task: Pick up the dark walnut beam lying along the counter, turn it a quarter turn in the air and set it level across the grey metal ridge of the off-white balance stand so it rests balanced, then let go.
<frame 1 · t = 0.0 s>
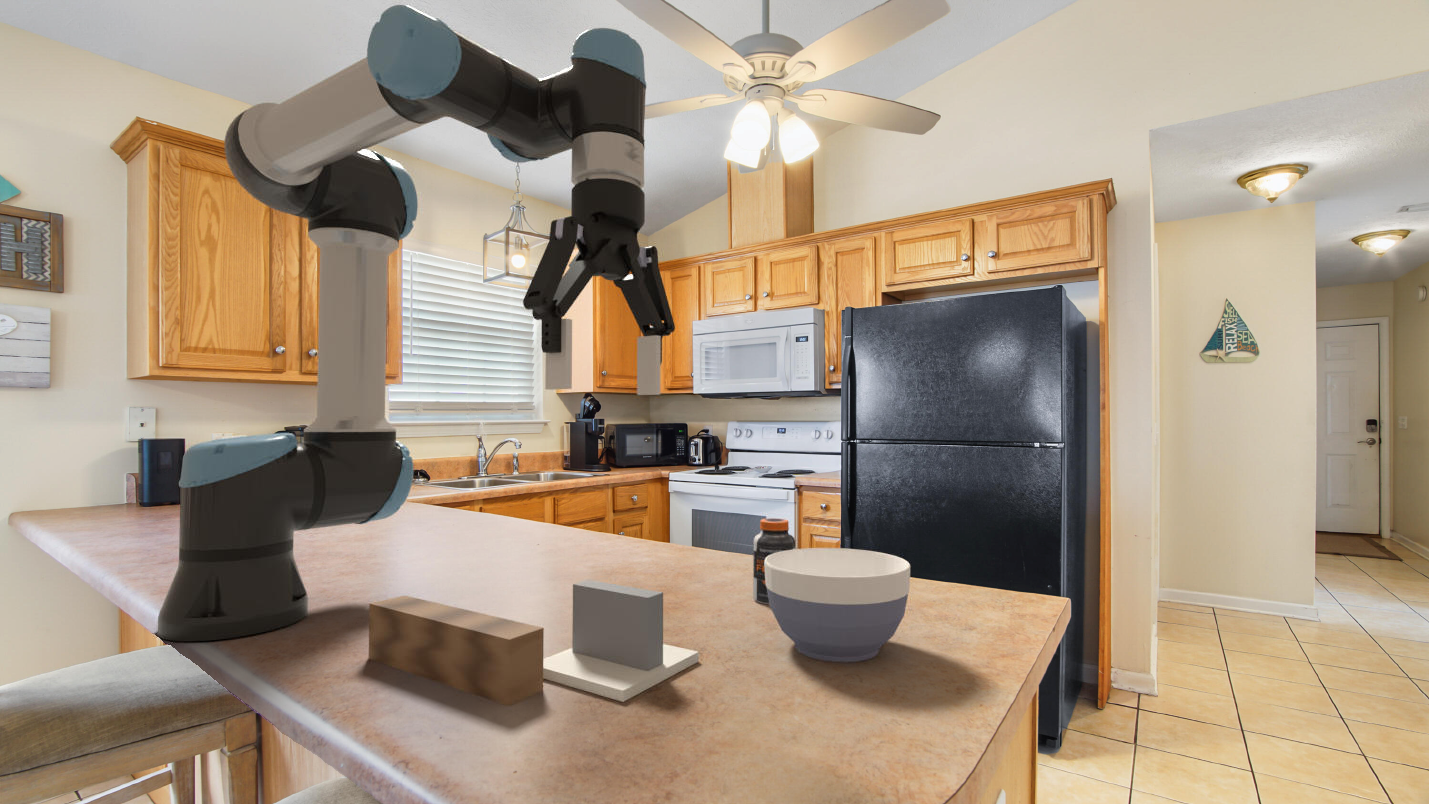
hand: (607, 392, 68), 28 cm above the counter, fingers open, 13 cm apart
bowl: (836, 649, 73), on the counter
pill bottle: (774, 601, 93), on the counter
beam: (450, 675, 66), on the counter
stand: (616, 667, 67), on the counter
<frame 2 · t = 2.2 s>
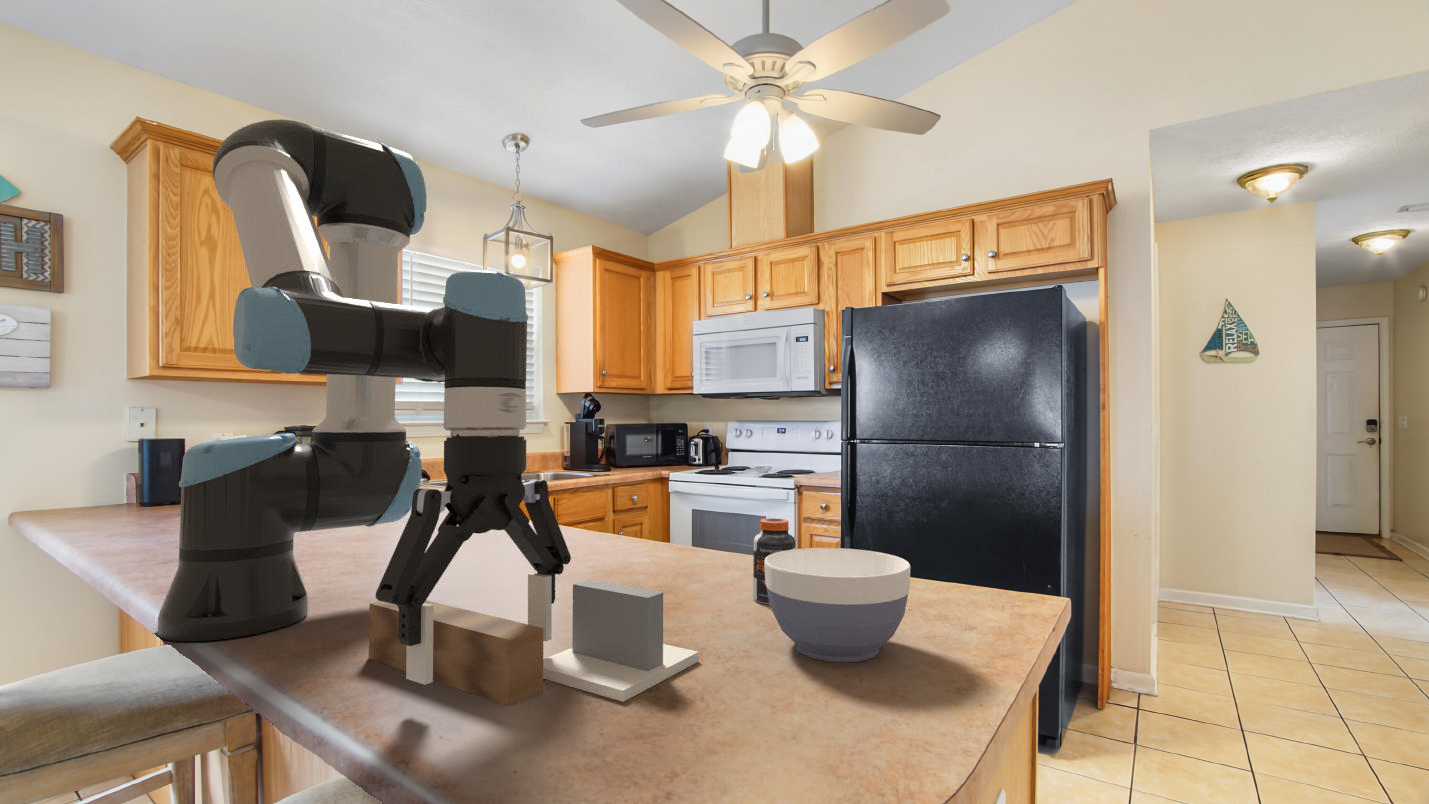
hand: (484, 657, 63), 3 cm above the counter, fingers open, 13 cm apart
nothing on the counter moved.
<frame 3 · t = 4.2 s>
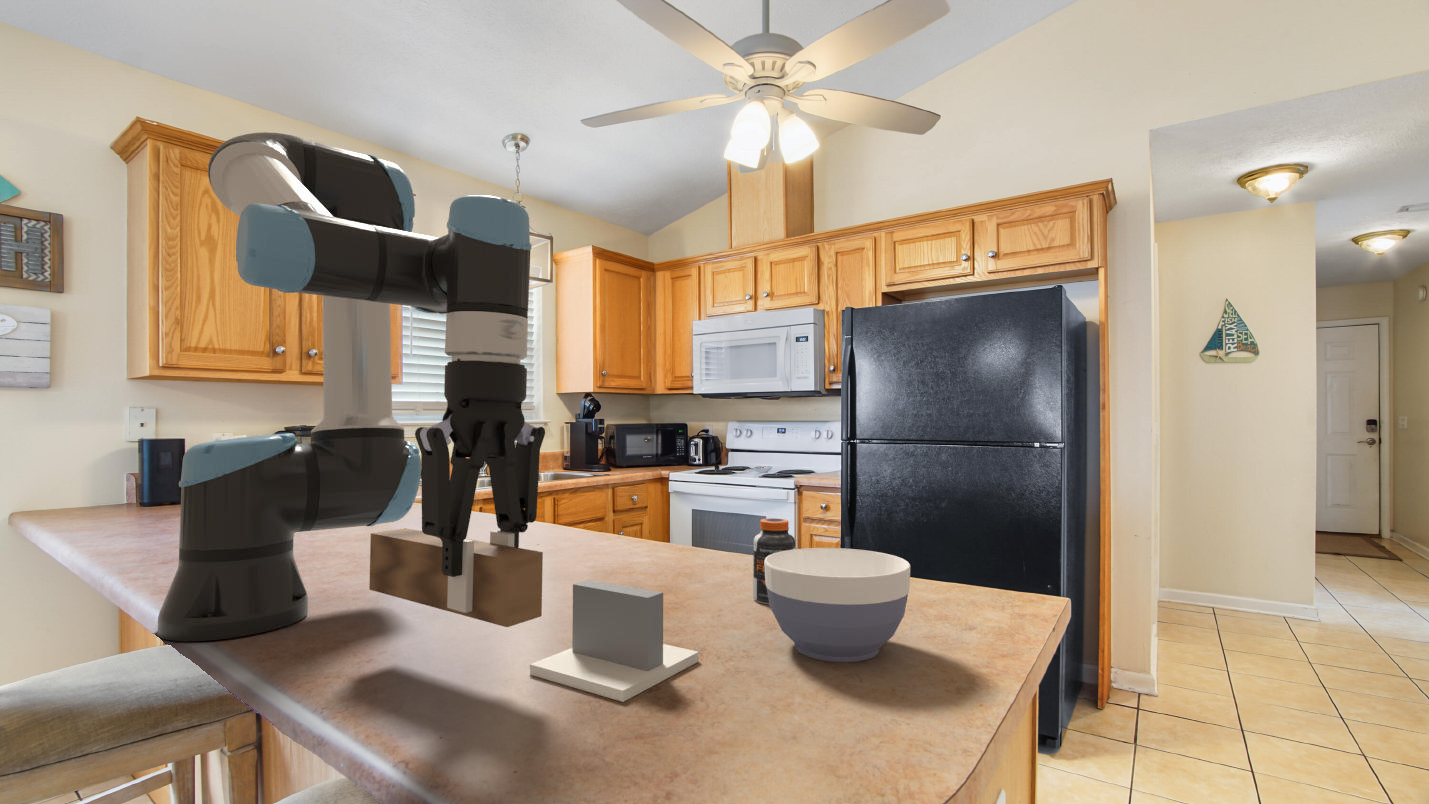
hand: (480, 602, 64), 7 cm above the counter, fingers closed on beam, 4 cm apart
beam: (449, 602, 66), point 7 cm above the counter, touching gripper
everything else where it was.
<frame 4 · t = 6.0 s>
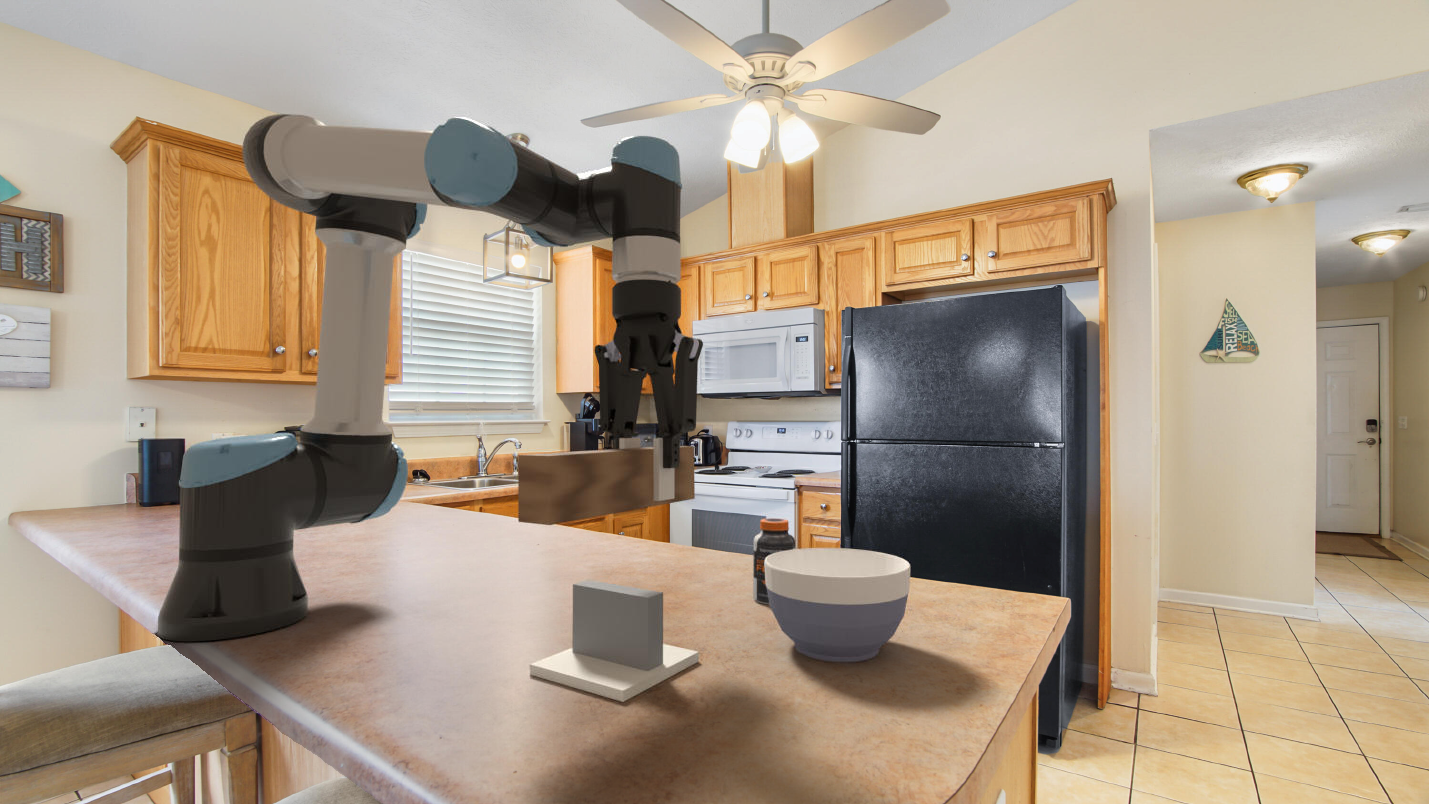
hand: (646, 497, 72), 17 cm above the counter, fingers closed on beam, 4 cm apart
beam: (617, 508, 68), point 16 cm above the counter, touching gripper
everything else where it was.
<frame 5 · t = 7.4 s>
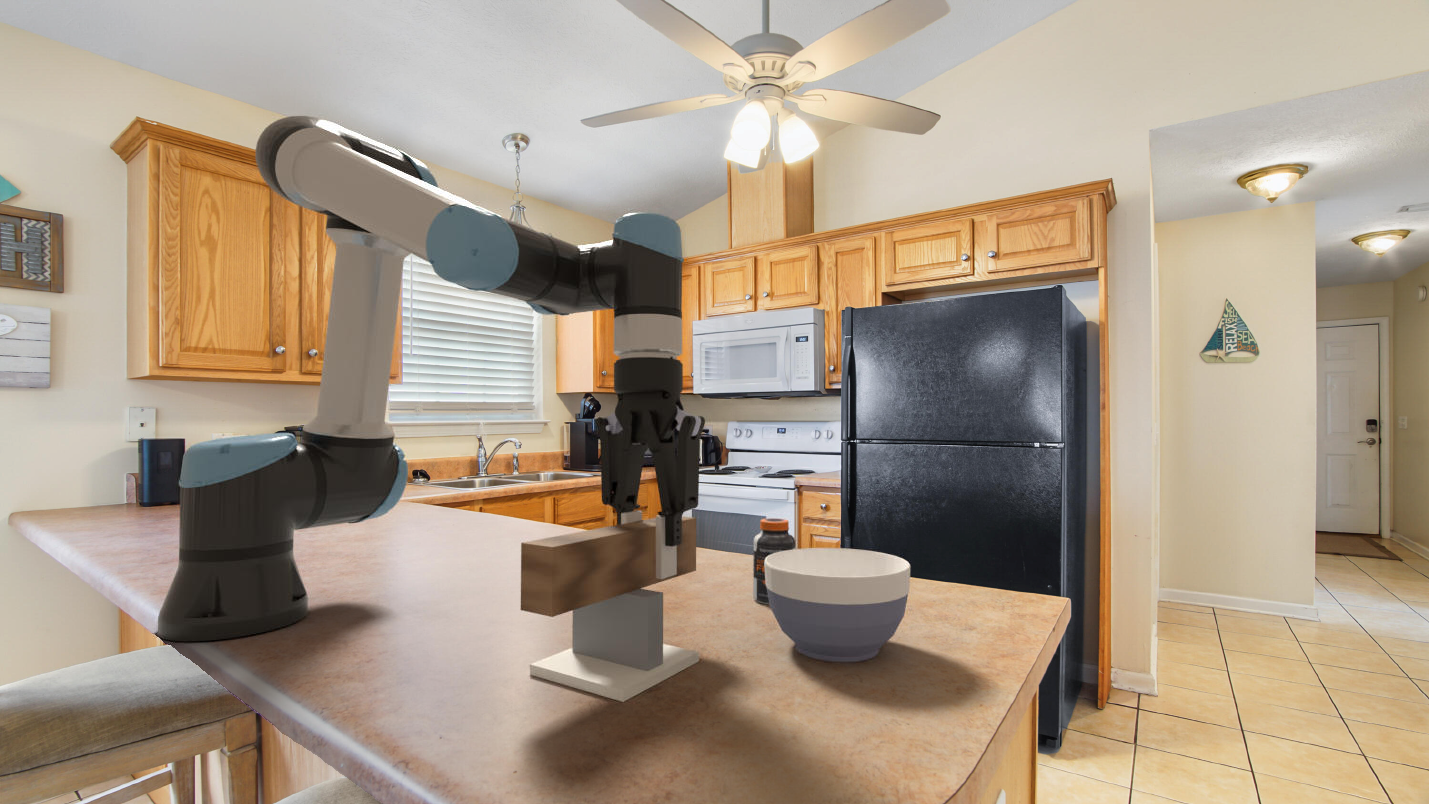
hand: (648, 573, 72), 9 cm above the counter, fingers closed on beam, 4 cm apart
beam: (618, 587, 67), point 8 cm above the counter, touching gripper, stand
everything else where it was.
when the fingers open (8 cm above the counter, at t = 7.8 s): beam stays where it is, resting on stand.
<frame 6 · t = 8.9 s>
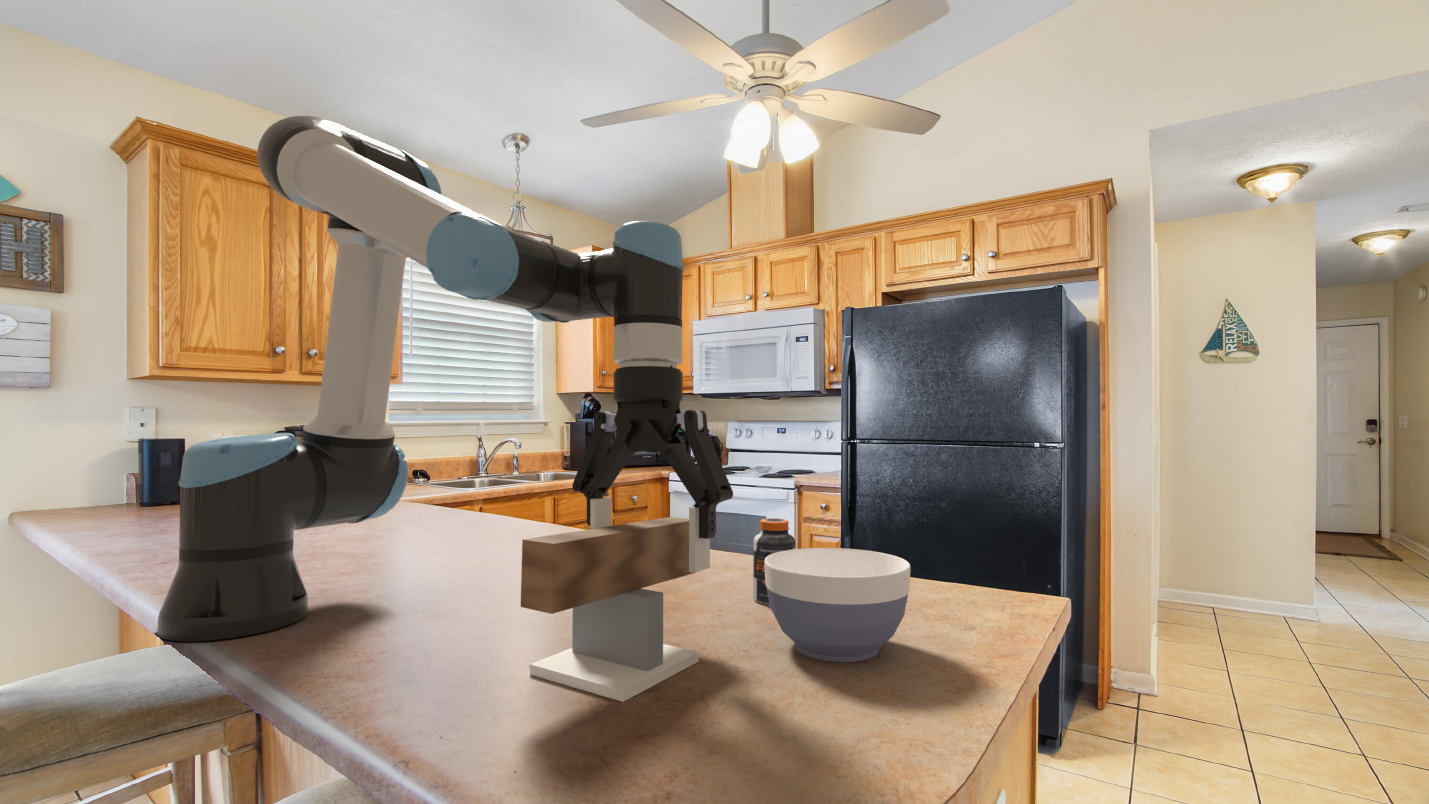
hand: (647, 562, 72), 10 cm above the counter, fingers open, 13 cm apart
beam: (618, 587, 67), point 8 cm above the counter, touching stand
everything else where it was.
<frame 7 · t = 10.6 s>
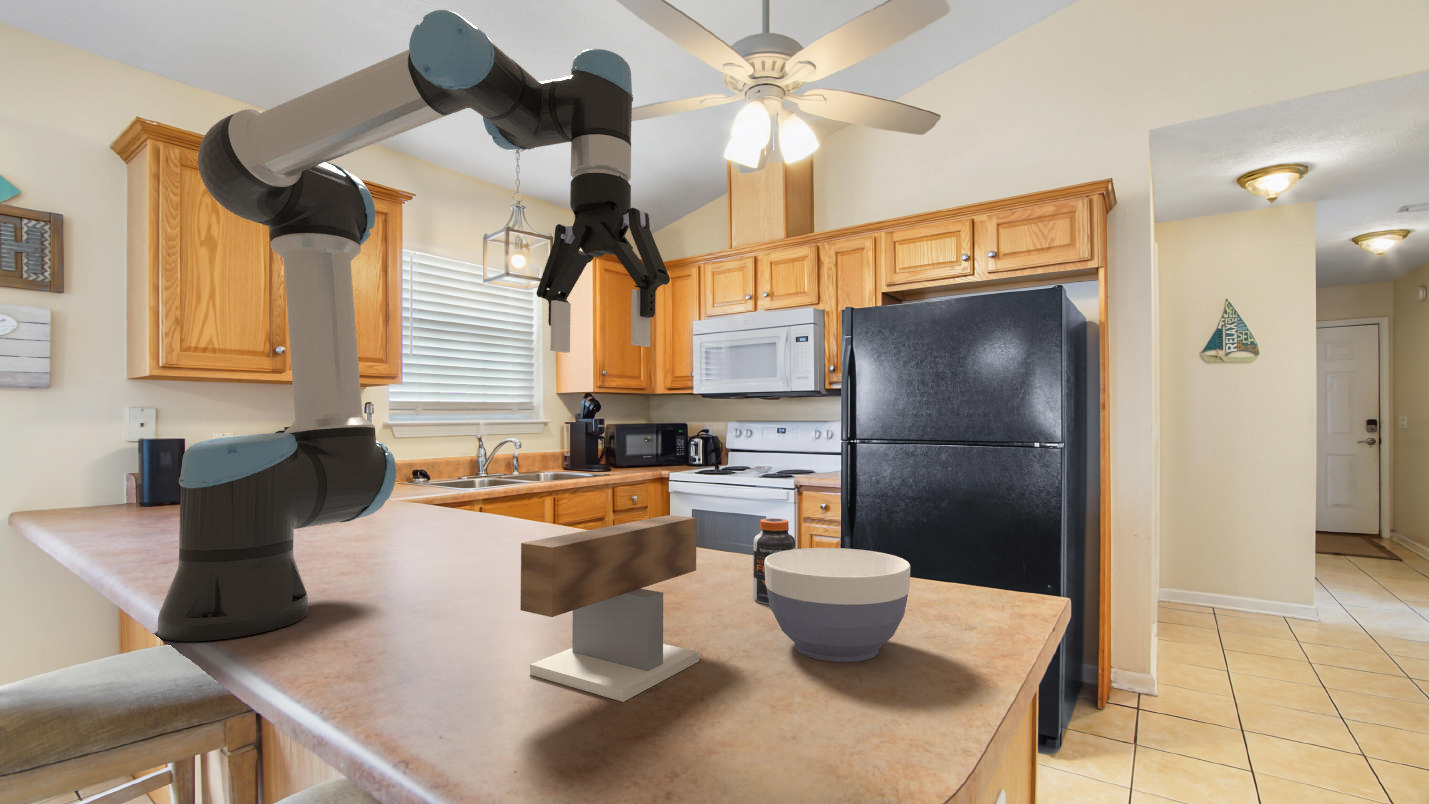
hand: (598, 349, 83), 34 cm above the counter, fingers open, 13 cm apart
nothing on the counter moved.
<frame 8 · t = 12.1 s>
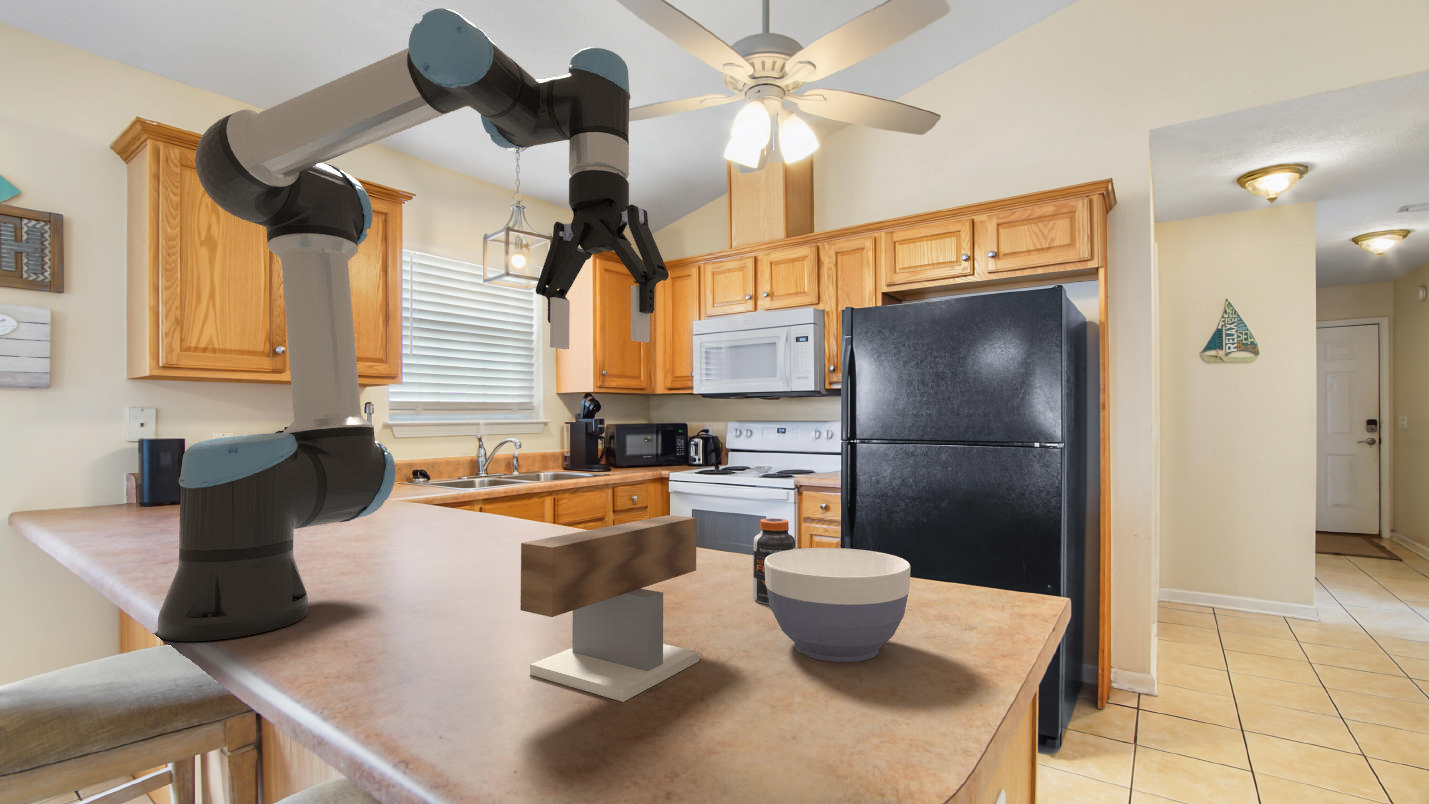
hand: (598, 345, 83), 35 cm above the counter, fingers open, 13 cm apart
nothing on the counter moved.
at the end: beam 0.2 cm off-centre on the stand, point 8.0 cm above the stand's base; beam tilted 0°; beam touching stand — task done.
